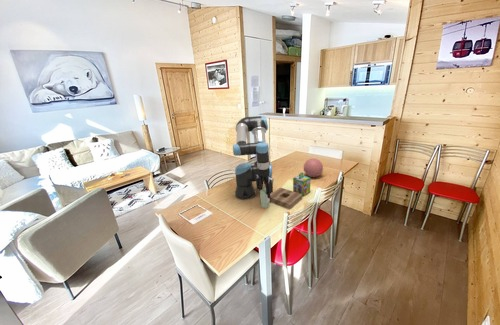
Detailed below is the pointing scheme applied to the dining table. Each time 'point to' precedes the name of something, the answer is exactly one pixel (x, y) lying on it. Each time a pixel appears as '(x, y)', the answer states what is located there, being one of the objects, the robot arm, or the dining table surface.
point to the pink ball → (313, 167)
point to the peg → (264, 198)
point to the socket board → (289, 199)
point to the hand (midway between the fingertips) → (265, 200)
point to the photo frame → (199, 217)
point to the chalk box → (301, 184)
